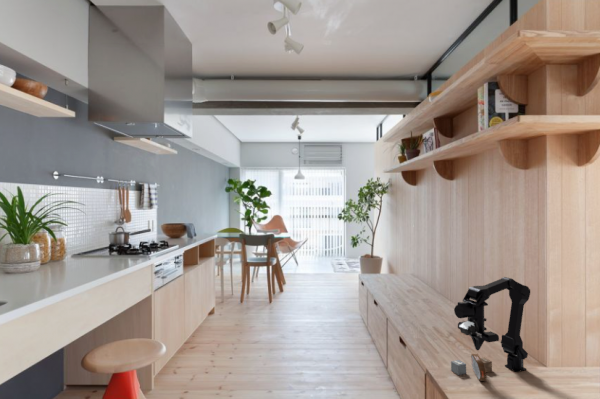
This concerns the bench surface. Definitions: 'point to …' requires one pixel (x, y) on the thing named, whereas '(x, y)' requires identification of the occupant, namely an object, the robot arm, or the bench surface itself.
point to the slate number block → (458, 367)
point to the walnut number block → (487, 364)
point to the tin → (478, 367)
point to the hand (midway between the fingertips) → (477, 350)
